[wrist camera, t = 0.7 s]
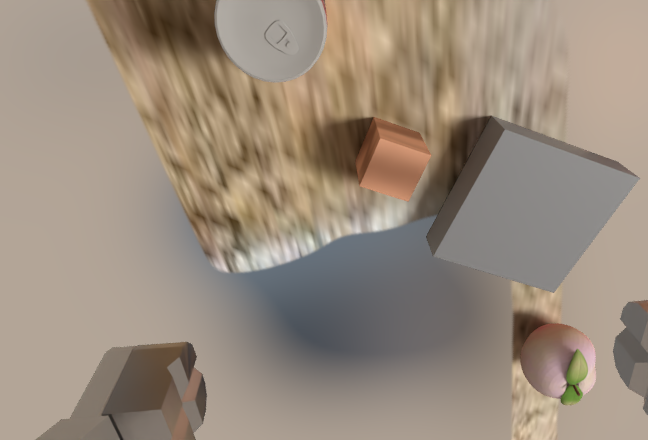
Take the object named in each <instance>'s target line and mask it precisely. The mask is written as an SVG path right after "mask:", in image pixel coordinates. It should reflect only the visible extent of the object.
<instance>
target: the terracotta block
mask: <svg viewBox="0 0 648 440" xmlns="http://www.w3.org/2000/svg"><path fill="white" fill-rule="evenodd" d="M430 157H431V154H430V152H429V150H428V148H427V146H426V144H425V143H424V141H423V139H422V137H421V135H420V133H418V132H415V131H413V130H410V129H407V128H404V127H401V126H398V125H395V124H392V123H390V122H387V121H384V120H381V119H378V118H375V117H373V120H372V122H371V125H370V127H369V129H368V132H367V134H366V137H365V139H364V141H363V144H362V146H361V149H360V151H359V154H358V156H357V158H356V161H355V162H356V168H357V174H358V180H359V186H361V187H364V188H367V189H370V190H373V191H376V192H380V193H383V194H386V195H389V196H392V197H395V198H398V199H402V200H405V201H409V199H410V197H411V195H412V193H413V191H414V189H415V187H416V185H417V183H418V181H419V179H420V177H421V175H422V173H423V171H424V169H425V167H426V165H427V163H428V161H429V159H430Z"/></svg>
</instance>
